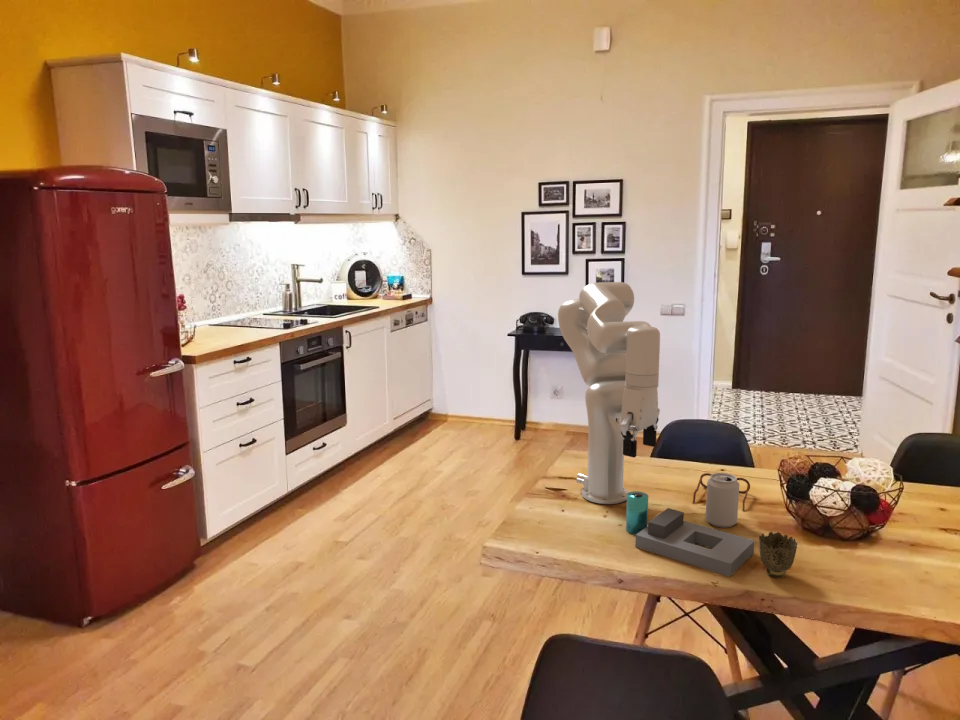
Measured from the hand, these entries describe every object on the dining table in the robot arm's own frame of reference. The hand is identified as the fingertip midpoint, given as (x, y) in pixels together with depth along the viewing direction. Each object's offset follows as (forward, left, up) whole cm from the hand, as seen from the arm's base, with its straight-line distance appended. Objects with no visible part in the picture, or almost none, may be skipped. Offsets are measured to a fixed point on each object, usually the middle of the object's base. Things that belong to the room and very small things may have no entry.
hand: (639, 450), depth 167 cm
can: (+14, +17, -20) cm, 30 cm away
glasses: (+8, +32, -21) cm, 39 cm away
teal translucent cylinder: (0, 0, -20) cm, 20 cm away
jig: (+15, -1, -20) cm, 25 cm away
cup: (+33, -1, -20) cm, 39 cm away
